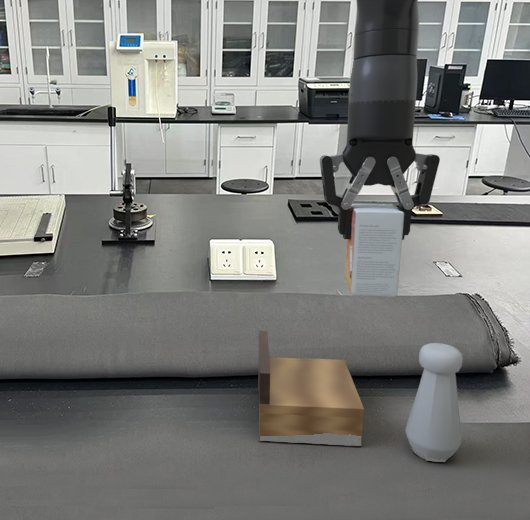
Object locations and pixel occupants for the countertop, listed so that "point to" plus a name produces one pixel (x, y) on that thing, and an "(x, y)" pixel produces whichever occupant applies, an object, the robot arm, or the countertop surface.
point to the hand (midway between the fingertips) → (372, 238)
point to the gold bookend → (306, 396)
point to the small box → (374, 250)
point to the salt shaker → (436, 404)
